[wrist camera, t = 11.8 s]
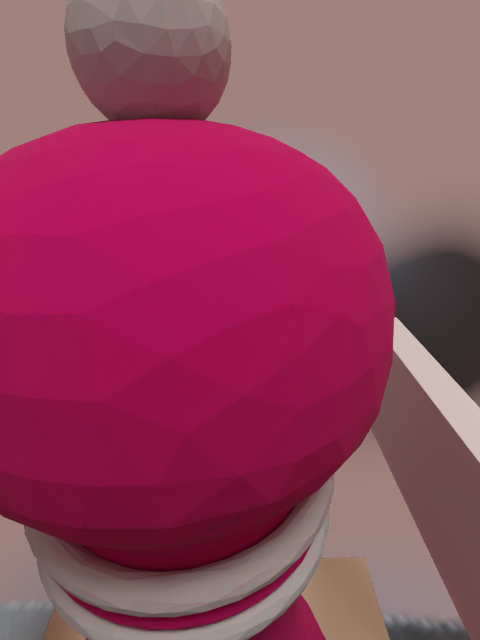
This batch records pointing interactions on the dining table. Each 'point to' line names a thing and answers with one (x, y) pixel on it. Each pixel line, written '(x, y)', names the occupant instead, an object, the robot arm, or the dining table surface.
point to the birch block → (313, 604)
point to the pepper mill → (179, 343)
